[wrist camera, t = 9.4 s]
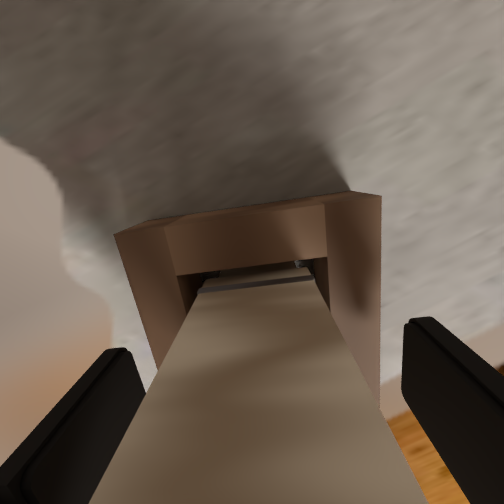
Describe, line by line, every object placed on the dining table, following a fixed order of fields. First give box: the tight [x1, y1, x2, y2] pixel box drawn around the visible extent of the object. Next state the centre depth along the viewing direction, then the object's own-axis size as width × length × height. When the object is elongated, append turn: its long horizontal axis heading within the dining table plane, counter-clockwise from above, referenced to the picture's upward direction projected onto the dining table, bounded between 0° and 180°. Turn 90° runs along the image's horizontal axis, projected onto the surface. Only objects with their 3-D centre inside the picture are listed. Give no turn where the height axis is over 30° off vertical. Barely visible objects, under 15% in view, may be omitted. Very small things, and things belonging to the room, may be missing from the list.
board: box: [114, 191, 382, 408], centre depth 12 cm, size 10×10×3 cm
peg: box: [89, 261, 429, 504], centre depth 8 cm, size 5×5×12 cm
